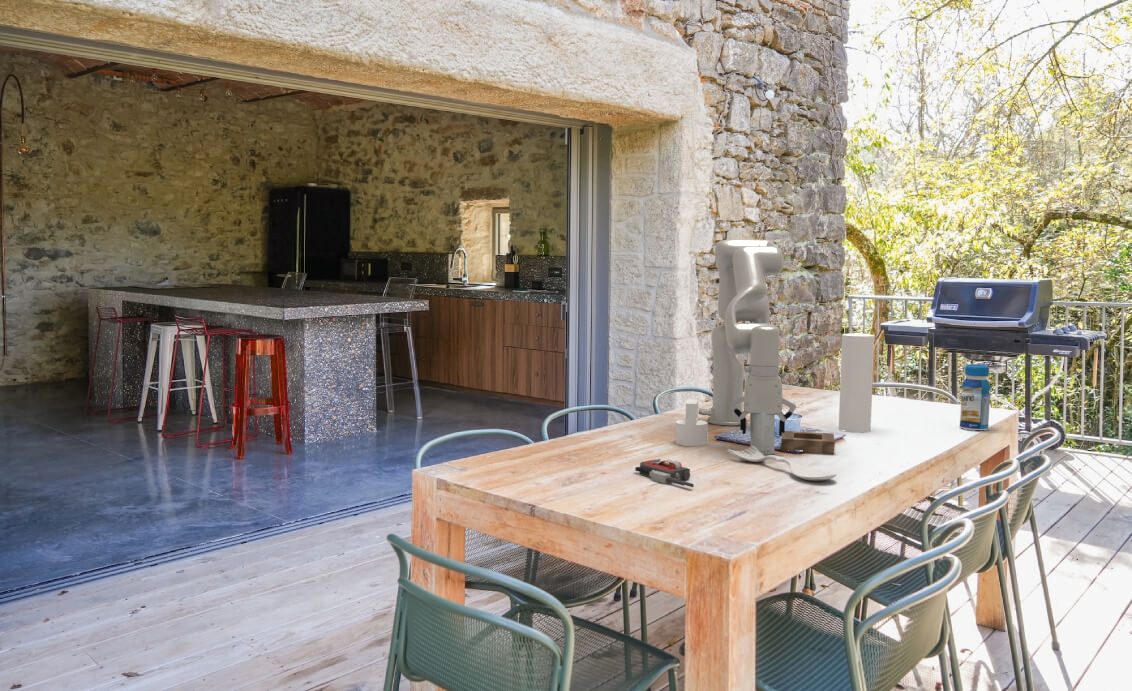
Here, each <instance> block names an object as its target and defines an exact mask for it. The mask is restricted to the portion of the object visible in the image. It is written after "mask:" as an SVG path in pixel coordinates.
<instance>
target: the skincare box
mask: <svg viewBox="0 0 1132 691" xmlns="http://www.w3.org/2000/svg"><path fill="white" fill-rule="evenodd" d="M775 416H776V415H767V414H765V410H761V411H760V414H750V413H749V419H750V420H749V422H750V426H749V427H750V428H749V429H750V436H749V437H750V440H749V441H750V447H749V448H751V446H754V447H756V449H758V451H759V452H760V453H762V454H763V455H764V456H768V455H774V454H775V447H776V446H775V438H776V437H775V430H776V429H775V427H776V426H775V422H776V420H775ZM751 449H752V448H751ZM752 450H753V449H752Z"/></svg>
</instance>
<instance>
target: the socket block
mask: <svg viewBox="0 0 1132 691" xmlns="http://www.w3.org/2000/svg"><path fill="white" fill-rule="evenodd" d="M780 437H781V439H780V452H783V453H784V452H789V453H792V452H791V451H795V450H803V452H802V453H803V454H817V455H818V454H819V455H831V456H833V455H835V445H836V444H835V443H836V442H835V434H834V433H831V432H830V433H829V432H827V433H826V432H813V431H812V432H811V431H793V430H785V433H782V436H780ZM788 450H789V451H788Z"/></svg>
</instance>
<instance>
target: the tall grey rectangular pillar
mask: <svg viewBox="0 0 1132 691" xmlns="http://www.w3.org/2000/svg"><path fill="white" fill-rule="evenodd" d="M841 336H842V337H841V355H840V356H841V360H840V384H839V386H840V387H839V412H838V413H839V414H838V430H839V429H841V430H845V431H852V432H851V433H854V432H866V433H869V432H868V431H870V432H871V427H872V426H871V425H872V403H873V400H872V399H873V382H874V381H873V380H874V379H873V378H874V354H875V334H868V333H863V332H853V333H843V334H842V335H841ZM841 430H840V431H841ZM845 431H844V432H845Z"/></svg>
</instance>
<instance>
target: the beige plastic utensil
mask: <svg viewBox="0 0 1132 691" xmlns="http://www.w3.org/2000/svg"><path fill="white" fill-rule="evenodd" d="M751 448H752V449H753V450H752V449H751ZM751 448H750V447H748V448H747V449H746V448H745V449H744V450H745V451H744V450H734V449H730V448H727V452H728V453H729V454H731V455H733V456H735V457H738V458H740V459H742V460H744V461H747V462H751V463H760V462H764V461H768V460H774V461H776V462H780V463H784V464H787V465H788V466H789V469H790V472H791V473H792V475H793V476H796V477H797V478H800V479H802V480H805V481H809V482H810V481H811V482H822V481H827V480H831V479H834V478H835V477H836V476H837V473H835V472H832V471H831V472H830V471H825V470H821V469H816V468H812V467H809V466H804V465H801V464H798V463H796V462H794V461H792V460H789V459H787V457H784V456H779V455H776V454H775V455H774V454H770V455H763V454H762V453H760V452H759V451H758V449H756V447H754V446H751Z"/></svg>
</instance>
